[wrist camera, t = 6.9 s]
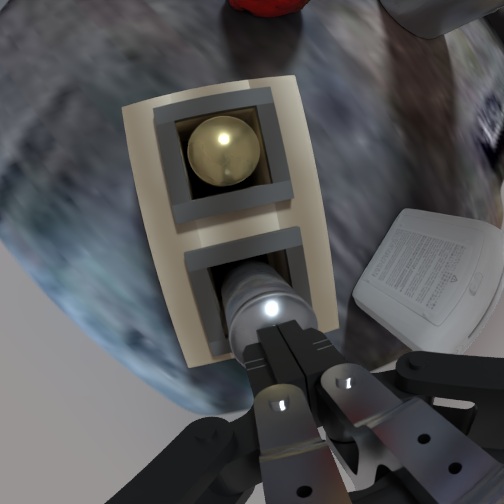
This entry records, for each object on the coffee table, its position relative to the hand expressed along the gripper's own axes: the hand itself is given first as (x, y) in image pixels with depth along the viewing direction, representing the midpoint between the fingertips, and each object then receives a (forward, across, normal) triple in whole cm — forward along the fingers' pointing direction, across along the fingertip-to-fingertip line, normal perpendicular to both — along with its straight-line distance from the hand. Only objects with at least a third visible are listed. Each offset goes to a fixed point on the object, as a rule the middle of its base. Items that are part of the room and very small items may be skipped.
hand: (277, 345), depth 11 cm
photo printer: (+13, -13, +3) cm, 19 cm away
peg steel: (+7, 0, 0) cm, 7 cm away
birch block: (+12, 0, -4) cm, 13 cm away
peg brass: (+12, 0, -8) cm, 15 cm away
